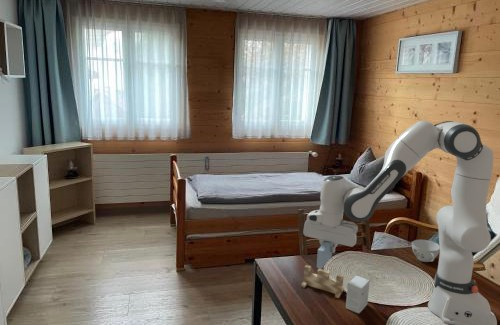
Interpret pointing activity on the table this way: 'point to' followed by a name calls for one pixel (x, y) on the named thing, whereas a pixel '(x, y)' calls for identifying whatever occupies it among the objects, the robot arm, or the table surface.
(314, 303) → the table surface
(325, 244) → the blue slat
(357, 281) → the small box
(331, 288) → the pine rail
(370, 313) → the table surface
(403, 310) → the table surface
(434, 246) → the teacup
